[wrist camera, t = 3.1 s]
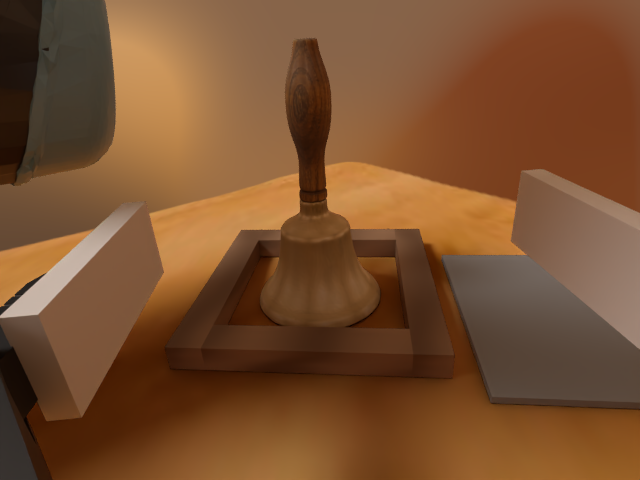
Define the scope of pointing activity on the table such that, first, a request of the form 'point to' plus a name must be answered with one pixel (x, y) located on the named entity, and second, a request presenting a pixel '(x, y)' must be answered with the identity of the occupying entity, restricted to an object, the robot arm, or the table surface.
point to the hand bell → (315, 218)
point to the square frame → (317, 342)
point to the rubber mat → (540, 337)
